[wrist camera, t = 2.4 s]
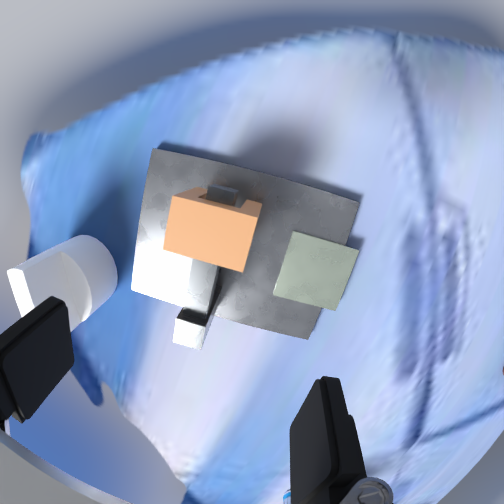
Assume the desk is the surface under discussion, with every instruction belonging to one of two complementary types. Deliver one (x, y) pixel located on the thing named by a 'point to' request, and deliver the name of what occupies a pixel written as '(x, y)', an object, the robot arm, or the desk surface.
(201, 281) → the stand
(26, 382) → the robot arm
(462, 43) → the desk surface
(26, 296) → the cylinder with rectangular tab
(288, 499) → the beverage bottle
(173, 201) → the orange staple
